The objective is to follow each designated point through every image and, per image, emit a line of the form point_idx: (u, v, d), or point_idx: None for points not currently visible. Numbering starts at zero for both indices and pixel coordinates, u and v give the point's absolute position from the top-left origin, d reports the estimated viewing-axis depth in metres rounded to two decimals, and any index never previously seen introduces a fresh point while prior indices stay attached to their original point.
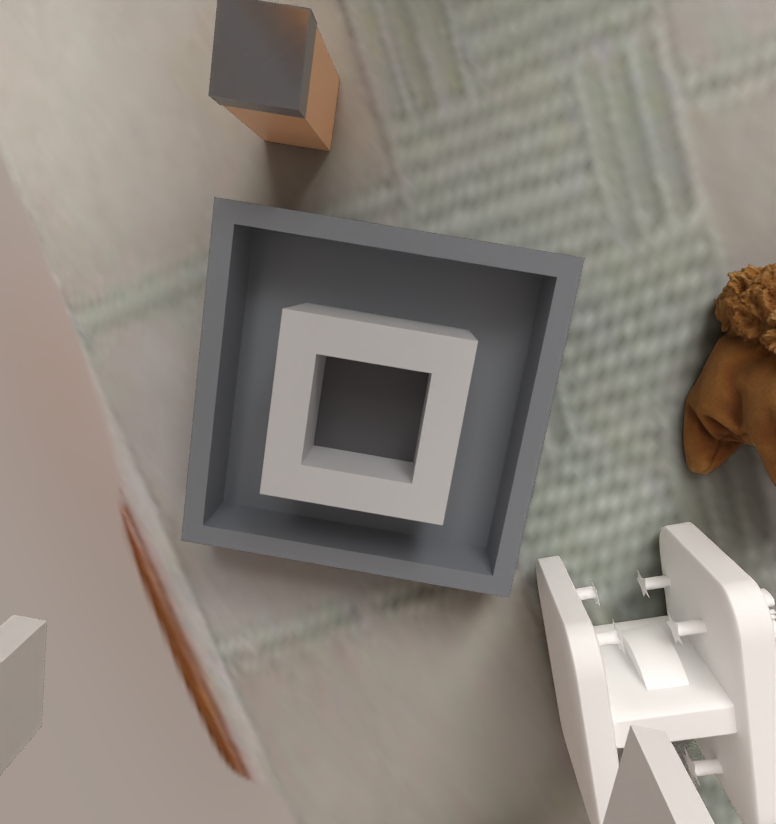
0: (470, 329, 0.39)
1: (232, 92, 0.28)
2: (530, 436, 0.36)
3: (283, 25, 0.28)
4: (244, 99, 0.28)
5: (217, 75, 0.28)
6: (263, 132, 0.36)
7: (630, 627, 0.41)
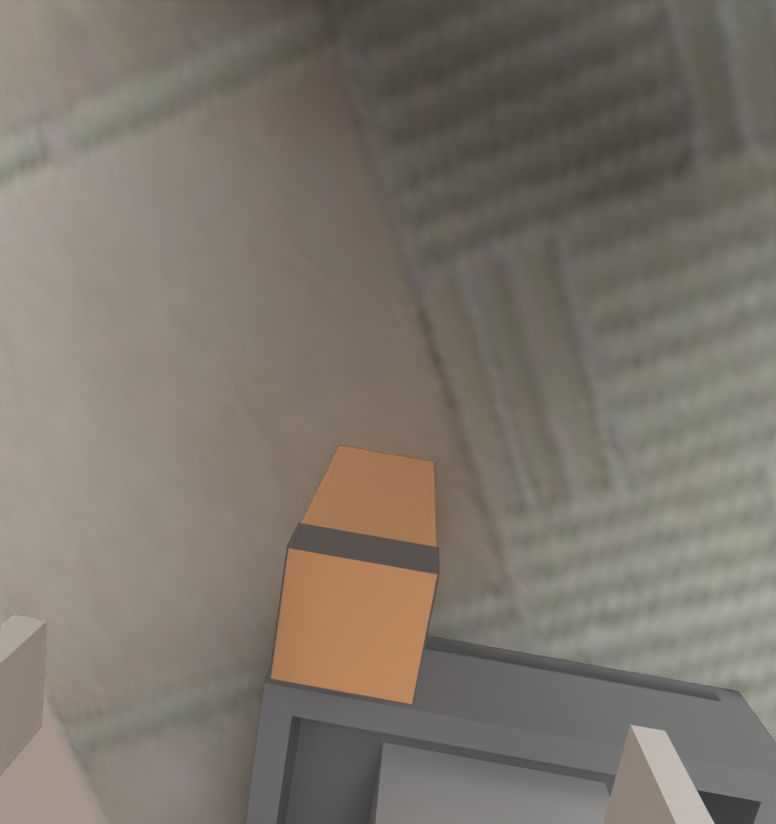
0: (607, 782, 0.28)
1: (307, 677, 0.18)
2: None
3: (393, 593, 0.17)
4: (325, 687, 0.18)
5: (283, 654, 0.18)
6: None
7: None
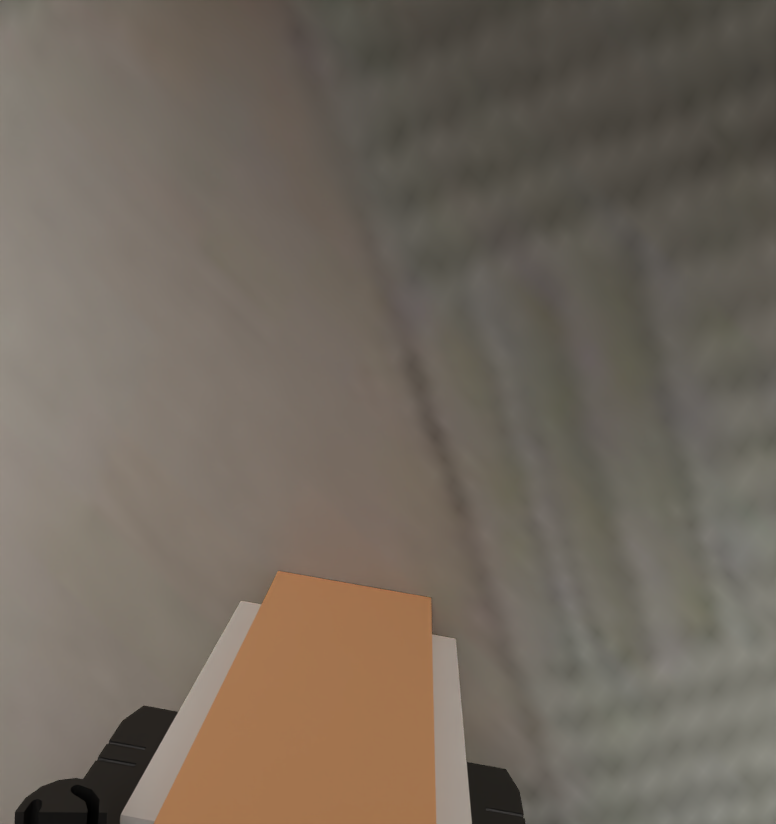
0: None
1: None
2: None
3: None
4: None
5: None
6: None
7: None
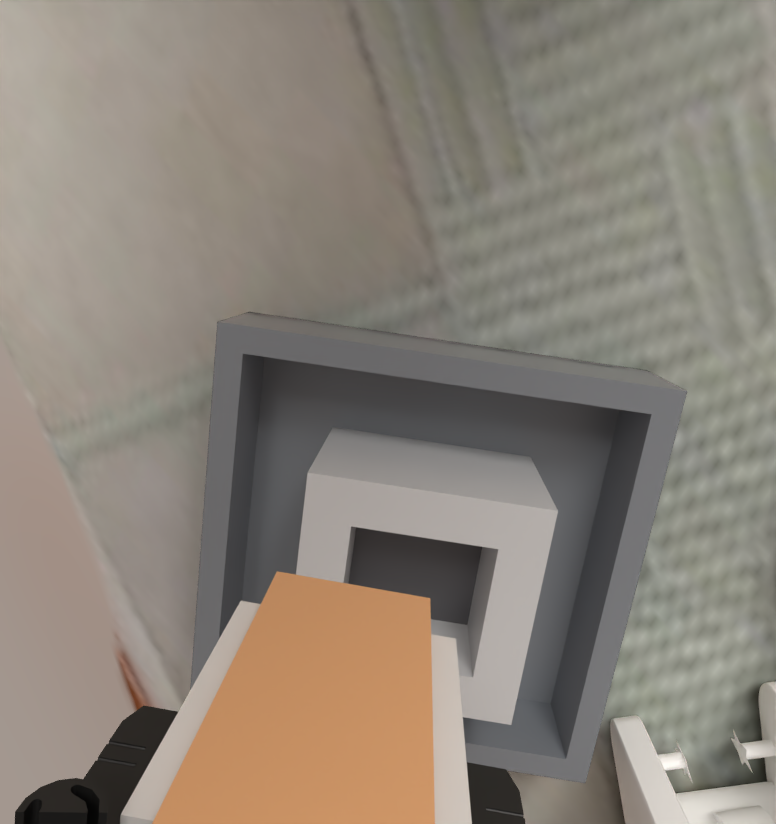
0: (532, 456, 0.32)
1: None
2: (614, 601, 0.29)
3: None
4: None
5: None
6: None
7: (726, 801, 0.34)
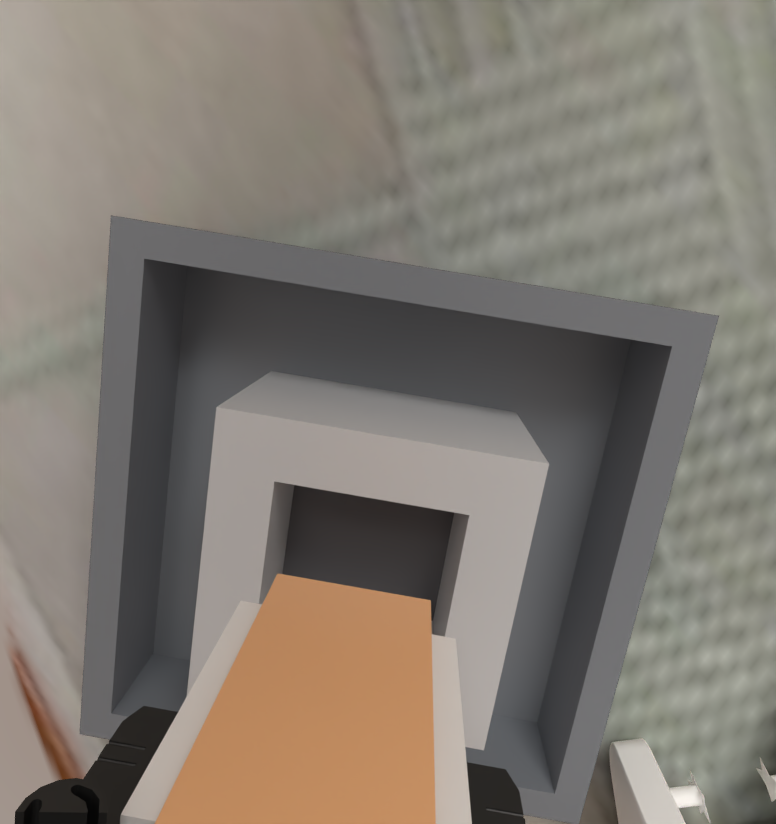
0: (518, 412, 0.26)
1: None
2: (619, 592, 0.23)
3: None
4: None
5: None
6: None
7: None
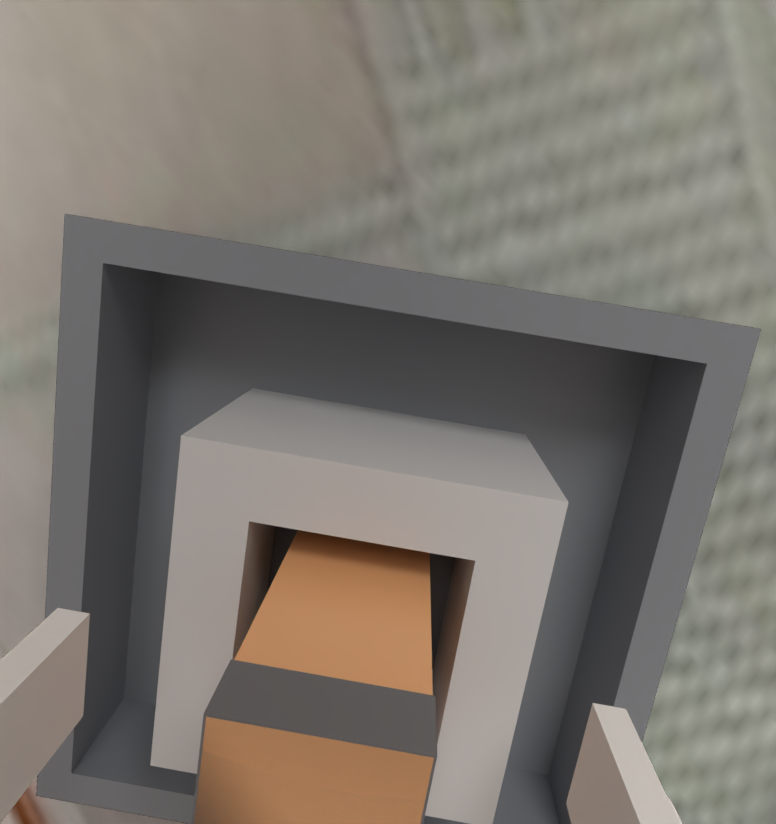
0: (528, 434, 0.23)
1: None
2: (644, 641, 0.20)
3: (367, 783, 0.11)
4: None
5: None
6: None
7: None
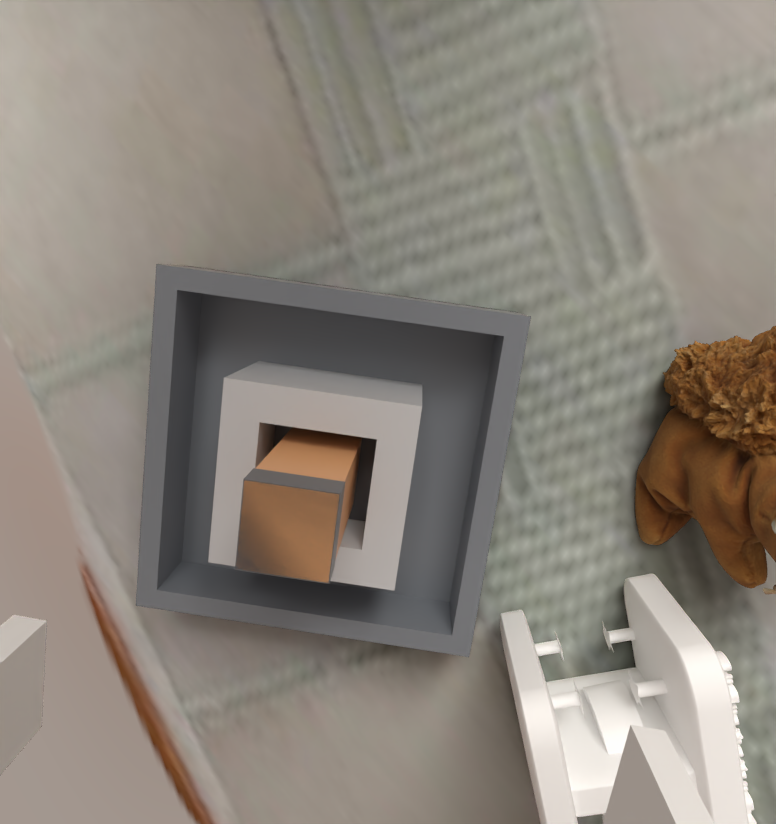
0: (424, 384, 0.38)
1: (259, 567, 0.27)
2: (484, 495, 0.35)
3: (312, 507, 0.27)
4: (271, 573, 0.27)
5: (243, 551, 0.27)
6: None
7: (596, 681, 0.40)
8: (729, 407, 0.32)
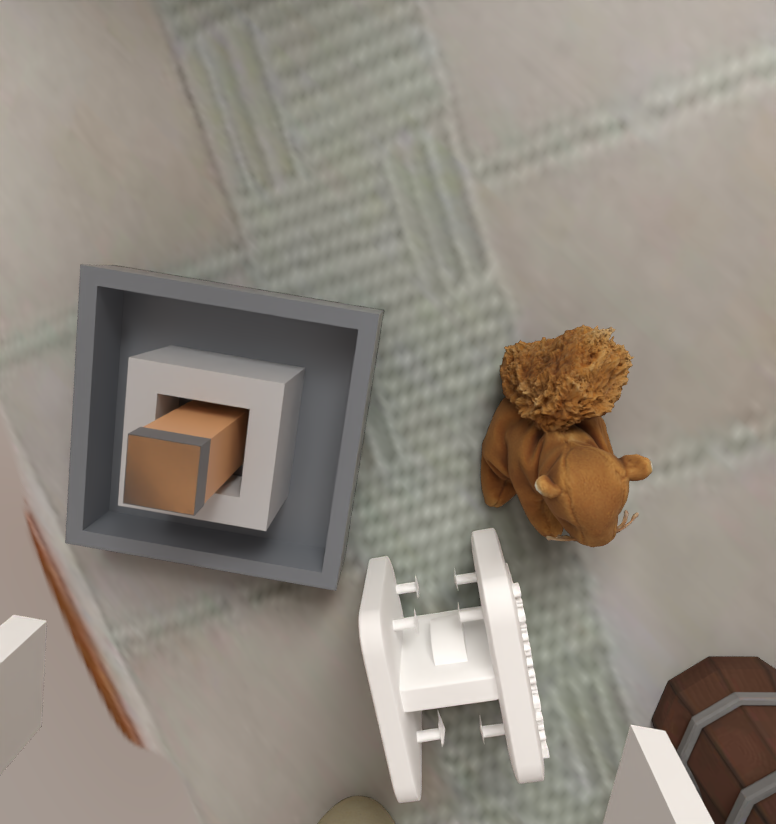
0: (306, 367, 0.47)
1: (141, 501, 0.36)
2: (345, 458, 0.44)
3: (180, 456, 0.35)
4: (150, 507, 0.36)
5: (129, 489, 0.36)
6: None
7: (446, 616, 0.48)
8: (528, 393, 0.40)
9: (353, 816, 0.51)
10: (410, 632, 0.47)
